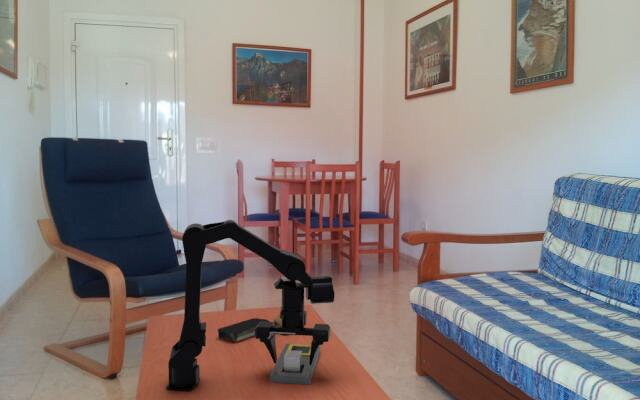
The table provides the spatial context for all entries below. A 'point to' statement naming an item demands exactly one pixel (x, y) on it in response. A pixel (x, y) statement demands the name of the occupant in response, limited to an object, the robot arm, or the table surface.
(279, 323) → the stone
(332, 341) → the table surface
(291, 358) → the grey metal block
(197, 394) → the table surface
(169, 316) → the table surface
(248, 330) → the black sponge
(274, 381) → the grey board with holes
